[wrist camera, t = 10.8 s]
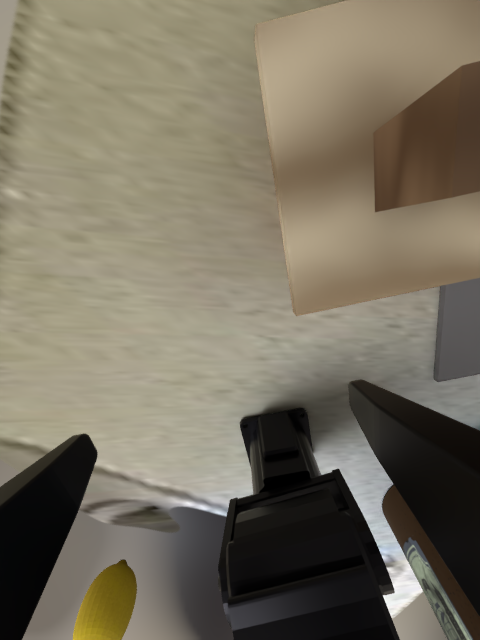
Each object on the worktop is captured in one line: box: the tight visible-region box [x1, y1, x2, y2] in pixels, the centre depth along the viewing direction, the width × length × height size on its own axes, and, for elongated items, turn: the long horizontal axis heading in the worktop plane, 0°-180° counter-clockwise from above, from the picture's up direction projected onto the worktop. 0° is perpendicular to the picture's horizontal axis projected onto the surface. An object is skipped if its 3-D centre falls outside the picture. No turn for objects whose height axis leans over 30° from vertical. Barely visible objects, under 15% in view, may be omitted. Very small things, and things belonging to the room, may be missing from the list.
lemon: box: [73, 560, 137, 640], centre depth 26 cm, size 6×6×8 cm
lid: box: [254, 0, 480, 316], centre depth 10 cm, size 13×13×5 cm
